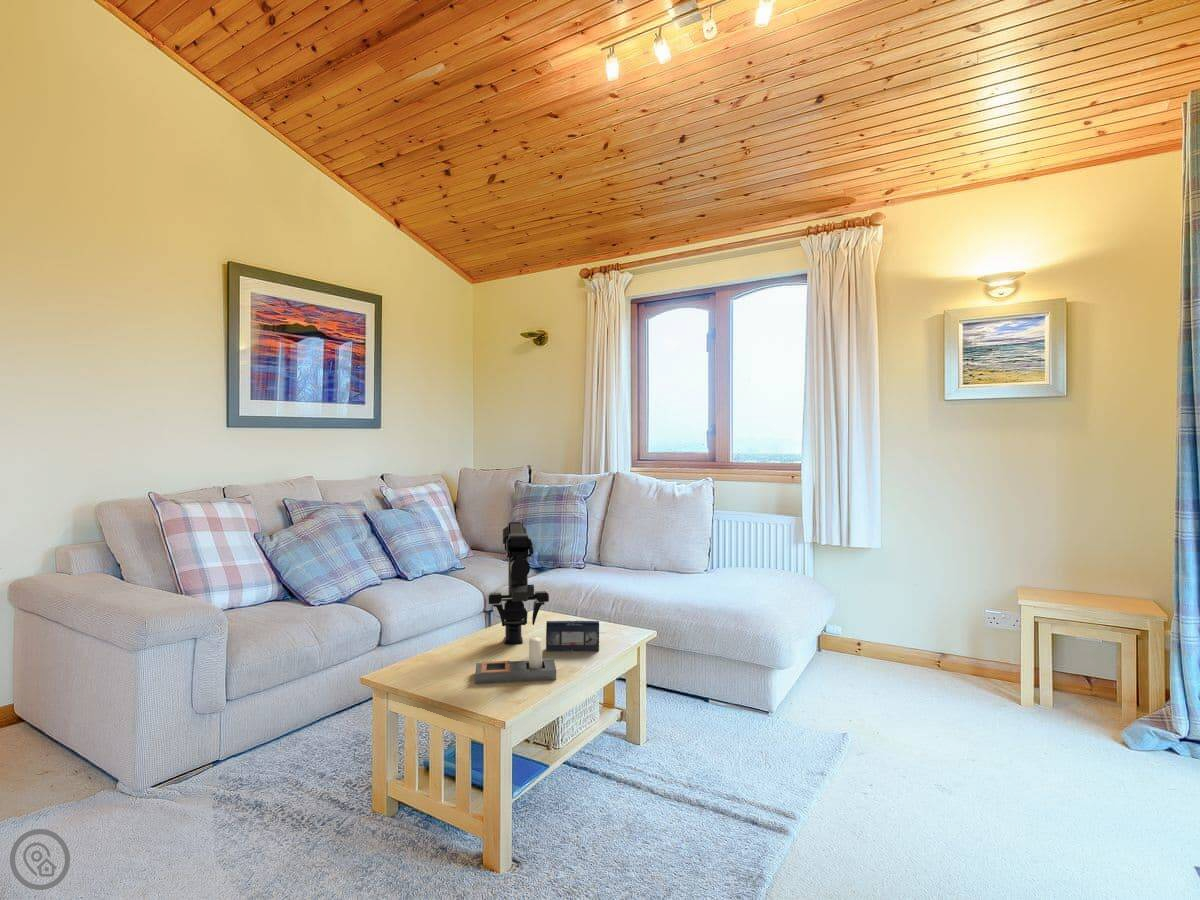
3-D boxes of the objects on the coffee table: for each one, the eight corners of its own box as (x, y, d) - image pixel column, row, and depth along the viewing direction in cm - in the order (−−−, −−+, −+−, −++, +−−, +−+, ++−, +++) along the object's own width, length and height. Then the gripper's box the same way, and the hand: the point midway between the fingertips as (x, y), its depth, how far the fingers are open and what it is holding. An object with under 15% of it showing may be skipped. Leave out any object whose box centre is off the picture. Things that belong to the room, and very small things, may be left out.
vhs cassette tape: (545, 651, 208) (545, 622, 208) (546, 648, 211) (546, 620, 211) (599, 652, 208) (599, 623, 208) (599, 649, 211) (599, 620, 211)
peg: (528, 673, 188) (528, 637, 188) (541, 672, 189) (541, 637, 189) (529, 678, 184) (529, 641, 184) (542, 677, 185) (542, 641, 185)
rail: (476, 672, 188) (476, 662, 188) (553, 668, 192) (553, 658, 192) (475, 684, 179) (475, 672, 179) (556, 679, 183) (556, 668, 183)
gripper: (489, 578, 183) (488, 631, 181) (550, 576, 187) (551, 628, 185) (488, 575, 194) (488, 625, 192) (546, 573, 197) (547, 622, 196)
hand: (518, 625), depth 191 cm, fingers open, 9 cm apart
